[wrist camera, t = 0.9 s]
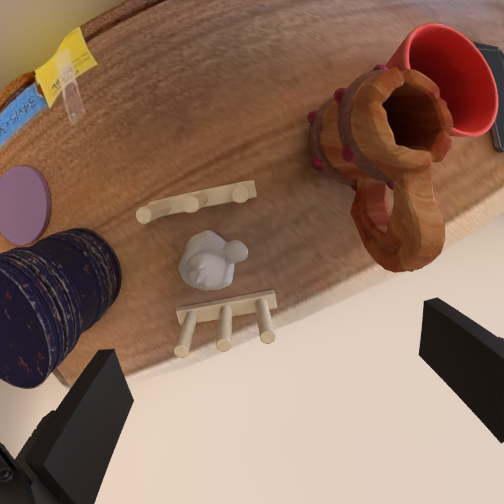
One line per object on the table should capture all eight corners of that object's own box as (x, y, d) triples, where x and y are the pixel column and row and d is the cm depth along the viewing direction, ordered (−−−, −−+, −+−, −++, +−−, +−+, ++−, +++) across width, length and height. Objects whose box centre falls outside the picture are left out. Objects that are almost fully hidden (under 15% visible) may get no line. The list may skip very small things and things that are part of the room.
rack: (151, 201, 29) (122, 209, 21) (253, 179, 29) (259, 178, 21) (181, 320, 32) (166, 362, 24) (275, 303, 32) (288, 342, 24)
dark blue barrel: (99, 211, 29) (-26, 249, 11) (138, 298, 31) (58, 406, 13) (34, 248, 29) (-80, 301, 12) (71, 324, 31) (-16, 416, 14)
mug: (296, 97, 27) (347, 31, 13) (372, 99, 28) (461, 54, 13) (309, 244, 31) (369, 300, 16) (382, 237, 31) (475, 280, 16)
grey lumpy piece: (172, 241, 30) (152, 262, 22) (235, 215, 30) (235, 227, 22) (195, 290, 31) (183, 325, 23) (256, 266, 31) (263, 295, 23)
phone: (501, 47, 25) (529, 147, 28) (496, 49, 26) (524, 148, 29) (468, 42, 25) (500, 152, 28) (463, 44, 26) (495, 153, 29)
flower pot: (358, 44, 26) (399, 5, 17) (440, 69, 27) (491, 47, 17) (360, 135, 28) (409, 120, 19) (443, 152, 29) (502, 149, 20)
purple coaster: (-7, 179, 27) (-12, 179, 26) (44, 154, 27) (39, 154, 26) (7, 250, 29) (2, 252, 28) (59, 234, 29) (54, 235, 28)
